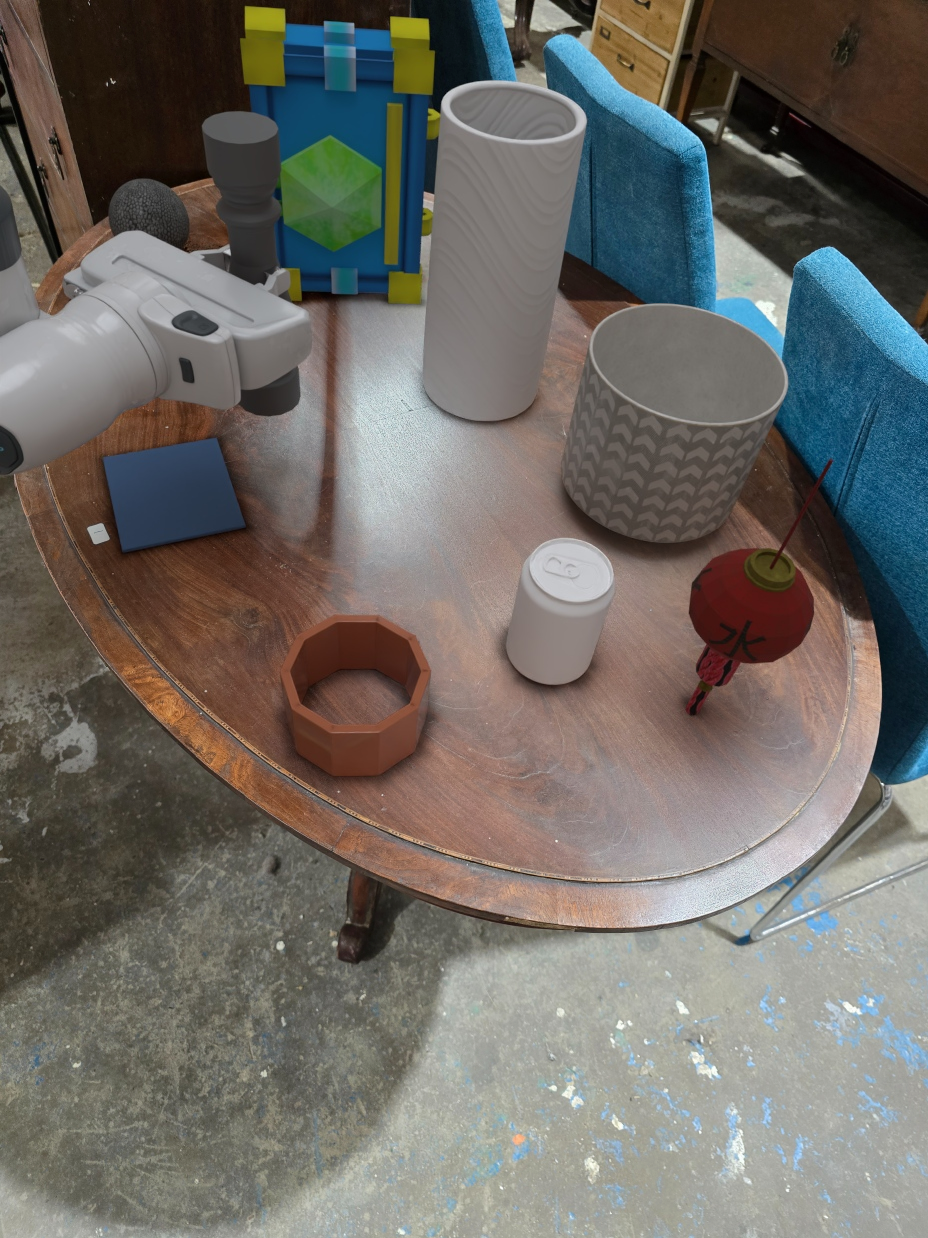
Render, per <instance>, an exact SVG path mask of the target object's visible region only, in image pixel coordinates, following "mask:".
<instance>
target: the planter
mask: <svg viewBox="0 0 928 1238" xmlns="http://www.w3.org/2000/svg"><path fill="white" fill-rule="evenodd" d="M585 354H586V355H585V358H584V362H583V367H582V371H581V376H580V380H579V385H578V389H577V392H576V396H575V397H576V398H575V402H574V406H573V410H572V414H571V418H570V422H569V428H568V432H567V437H566V439H565V440H566V441H565V444H564V448H563V452H562V457H561V462H560V474H561V480H562V483H563V486H564V488H565V490H566V492H567V494H568V495H569V497H570V498H571V500H572V502H574V504H575V505H576V506H577V507H578V508H579V509H580V510H581V511H582V512H583V513H584V514H585V515H587V516H588V517H589V518H591V519H592V520H593V521H594V522H596V523H598V524H600V525H601V526H603V527H604V528H607V529H608V530H610V531H613V532H615V533H617V534H619V535H623V536H625V537H628V538H632V539H635V540H640V541H643V542H649V543H661V544H674V543H684V542H691V541H693V540H698V539H700V538H703V537H705V536H707V535H710V534H711V533H714V531H716V530H718V529H719V528H720V527H721V526H722V525H723V524H725V522H726V521H727V520H728V519H729V517H730V516H731V514H732V512H733V509H734V507H735V505H736V503H737V501H738V500H739V497H740V494H741V492H742V490H743V488H744V487H745V483H746V482H747V480H748V478H749V475H750V473H751V471H752V469H753V467H754V465H755V462H756V461H757V459H758V455H759V454H760V452H761V450H762V447H763V446H764V443H765V441H766V439H767V437H768V434H769V432H770V430H771V428H772V426H773V423H774V422H775V419H776V417H777V415H778V413H779V411H780V408H781V407H782V404H783V402H784V399H785V398H786V396H787V393H788V389H789V377H788V371H787V368H786V365H785V363H784V361H783V360H782V357H780V355H779V354H778V353H777V351H776V349H774V347H772V345H771V344H770V343H769V342H768V341H766V339H764V338H763V337H762V336H760V335H759V334H758V333H757V332H755V331H754V330H752V329H750V328H749V327H747V326H745V325H743V324H742V323H741V322H738V321H737V320H734V319H733V318H730V317H727V316H725V315H723V314H720V313H717V312H714V311H711V310H708V309H704V308H700V307H695V306H691V305H686V304H685V305H684V304H675V303H647V304H638V305H633V306H629V307H626V308H623V309H620V310H618V311H615V312H613V313H612V314H610V315H608V316H607V317H605V318H604V319H603V320H601V321H600V322H599V323H598V324H597V325H596V327H594V329H593V331H592V333H591V336H590V338H589V342H588V346H587V351H586V353H585Z"/></svg>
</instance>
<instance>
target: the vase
mask: <svg viewBox="0 0 928 1238" xmlns="http://www.w3.org/2000/svg"><path fill="white" fill-rule="evenodd" d="M440 103H441V104H440V113H439V114H440V127H439V136H438V140H437V141H438V142H437V153H436V164H435V165H436V166H435V167H436V168H435V180H434V192H433V194H434V195H433V205H432V206H433V207H432V212H433V219H432V232H431V234H430V248H429V262H428V276H427V277H428V279H427V288H426V289H427V290H426V302H425V303H426V304H425V317H424V331H423V333H424V334H423V347H422V348H423V349H422V384H423V388H424V391H425V393H426V394H427V396H428V398H430V400H431V401H432V402H433V403H435V405H437V406H438V407H439V408H441V409H442V410H443V411H445V412H447V413H449V414H451V415H453V416H456V417H459V418H463V419H466V420H470V421H477V422H496V421H502V420H506V419H510V418H514V417H516V416H518V415H519V414H522V413H523V412H524V411H526V410H527V409H528V408H529V407H531V405H532V404H533V403H534V402H535V399H536V397H537V395H538V392H539V387H540V383H541V378H542V374H543V369H544V365H545V359H546V354H547V349H548V344H549V338H550V334H551V333H550V332H551V327H552V322H553V321H552V320H553V315H554V310H555V304H556V299H557V294H558V293H557V292H558V288H559V283H560V277H561V272H562V265H563V262H564V261H563V259H564V254H565V249H566V243H567V238H568V231H569V227H570V221H571V215H572V211H573V210H572V209H573V204H574V200H575V193H576V187H577V181H578V175H579V170H580V164H581V160H582V159H581V158H582V154H583V153H582V152H583V146H584V141H585V135H586V129H587V125H588V124H587V123H588V118H587V114H586V113H585V111H584V110H583V109H582V107H581V106H580V105H579V104H577V103H576V102H575V101H574V100H573V99H571V98H569V97H567V96H566V95H564V94H561V93H560V92H557V91H556V90H555V91H554V90H553V89H549V88H547V87H543V86H540V85H535V84H532V83H527V82H521V81H513V80H512V81H511V80H480V81H473V82H468V83H464V84H461V85H458V86H456V87H454V88H451V89H450V90H449V91H448V92H446V94H445V95H444V96H443V97H442V100H441V102H440Z"/></svg>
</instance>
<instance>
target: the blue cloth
mask: <svg viewBox="0 0 928 1238" xmlns="http://www.w3.org/2000/svg"><path fill="white" fill-rule="evenodd" d="M102 463H103V466H104V472H105V475H106V480H107V485H108V491H109V494H110V495H109V496H110V499H111V504H112V510H113V515H114V519H115V523H116V528H117V532H118V538H119V542H120V546H121V547H120V548H121V551H122V553H123V554H125V553H129V552H134V551H139V550H144V549H149V548H154V547H157V546H164V545H168V544H172V543H173V544H174V543H177V542H178V543H179V542H182V541H187V540H192V539H197V538H201V537H207V536H210V535H216V534H221V533H226V532H231V531H235V530H240V529H244V528H246V523H245V520H244V517H243V513H242V511H241V507H240V504H239V502H238V499H237V495H236V492H235V489H234V486H233V484H232V483H233V482H232V480H231V477H230V474H229V472H228V468H227V465H226V462H225V459H224V456H223V453H222V450H221V447H220V444H219V441H218V437H212V438H207V439H201V440H200V439H199V440H195V441H188V442H183V443H178V444H173V445H172V444H171V445H166V446H161V447H155V448H149V449H148V448H147V449H144V450H138V451H131V452H127V453H121V454H115V455H114V454H113V455H108V456H103V457H102Z"/></svg>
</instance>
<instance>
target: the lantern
mask: <svg viewBox="0 0 928 1238" xmlns="http://www.w3.org/2000/svg"><path fill="white" fill-rule="evenodd" d="M833 462H834V459H832V458H830V459H828V461H827V463H826V464H825V466H824V468H823V469H822V471H821V474H820V475H819V477H818V479H817V481H816V483H815V484H814V486H813V488H812V490H811V492H810V494H809V495H808V497H807V499H806V500H805V502H804V504H803V506H802V508H801V510H800V512H799V513H798V515H797V517H796V519H795V521H794V523H793V524H792V526H791V527H790V530H789V531H788V533H787V535H786V536H785V539H784V541H783V542H782V544H781V545H780V548H779V549H774V548H771V547H763V548H758V547H750V548H747V547H746V548H738V549H734V550H729V551H726V552H724V553H722V554H719V555H717V556H715V557H713V558H711V559H710V561H708V562H707V563H706V564H705V566H703V568H702V569H701V571H700V572H699V573H698V574H697V575H696V577H695V578H694V579H693V581H692V582H691V588H690V595H689V605H688V606H689V607H688V616H689V619H690V621H691V625H692V626H693V629H694V631H695V633H696V634H697V635H698V636H699V638H700V639H701V640H702V641H703V642H704V643H705V645H704V648H703V650H702V652H701V653H700V655H699V657H698V659H697V661H696V663H695V673H696V675H697V676H698V678H699V679H700V680H699V681H698V684H697V686H696V687H695V690H694V691H693V693H692V695H691V697H690V698H689V700H688V702H687V705H685V712H686V714H688V715H689V716H691V717H694V716H697V715H698V714H699V712H700V711H701V709H702V707H703V706H704V704H705V702H706V700H707V698H708V697H709V695H710V693H711V691H712V690H713V689H714V688H713V687H718V688H719V687H723V686H727V685H728V684H729V682H730V681H731V680H732V678H733V677H734V676H735V673H736V672H737V670H738V668H739V667H740V665H741V664H747V665H748V664H750V665H754V664H766V663H774V662H777V661H778V660H780V659H782V658H783V657H786V656H787V655H789V654H791V652H793V651H794V650H796V649H797V648H798V647H799V646H801V645H802V643H803V641H804V640H805V638H806V637H807V635H808V633H809V632H810V631H811V628H812V624H813V620H814V616H815V597H814V595H813V592H812V591H811V588H810V587H809V583H808V582H807V580H806V577H805V576H804V574H803V573H802V571H801V569H799V568H798V567H797V566H796V565H795V563H794V561H793V559H791V557H789V556H788V555H787V554H786V553H784V550H785V548H786V547H787V545H788V543H789V541H790V540H791V537H792V536H793V535H794V533H795V530H796V529H797V527H798V525H799V523H800V522H801V520H802V518H803V516H804V514H805V513H806V510H807V509H808V508H809V505H810V503H811V502H812V500H813V499H814V496H815V495H816V493H817V491H818V489H819V488H820V485H821V483H822V482H823V480H824V479H825V477H826V475H827V473H828V472H829V470H830V468H831V466H832V465H833Z"/></svg>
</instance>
